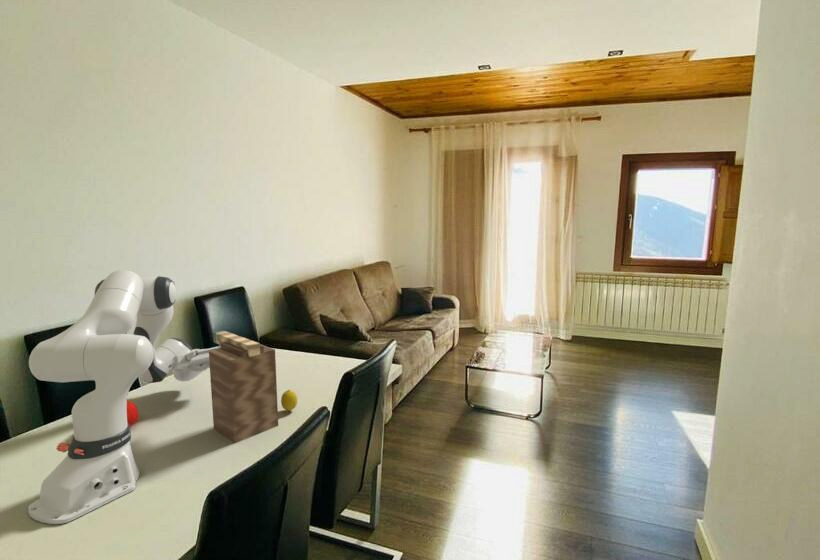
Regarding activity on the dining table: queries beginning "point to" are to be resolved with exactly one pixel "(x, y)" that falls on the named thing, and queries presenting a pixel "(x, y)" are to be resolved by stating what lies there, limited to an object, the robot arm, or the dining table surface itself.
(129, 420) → the tomato
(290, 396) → the lemon
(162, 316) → the robot arm
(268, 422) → the walnut mount
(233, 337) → the oak bar
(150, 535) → the dining table surface
